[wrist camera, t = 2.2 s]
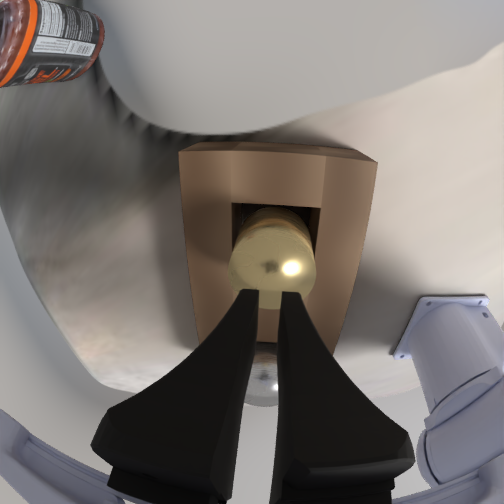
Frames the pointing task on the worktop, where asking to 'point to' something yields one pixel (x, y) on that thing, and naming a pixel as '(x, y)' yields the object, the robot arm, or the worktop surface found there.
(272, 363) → the steel peg
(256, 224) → the brass peg
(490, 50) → the worktop surface
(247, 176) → the walnut block
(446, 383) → the robot arm
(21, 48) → the supplement bottle
